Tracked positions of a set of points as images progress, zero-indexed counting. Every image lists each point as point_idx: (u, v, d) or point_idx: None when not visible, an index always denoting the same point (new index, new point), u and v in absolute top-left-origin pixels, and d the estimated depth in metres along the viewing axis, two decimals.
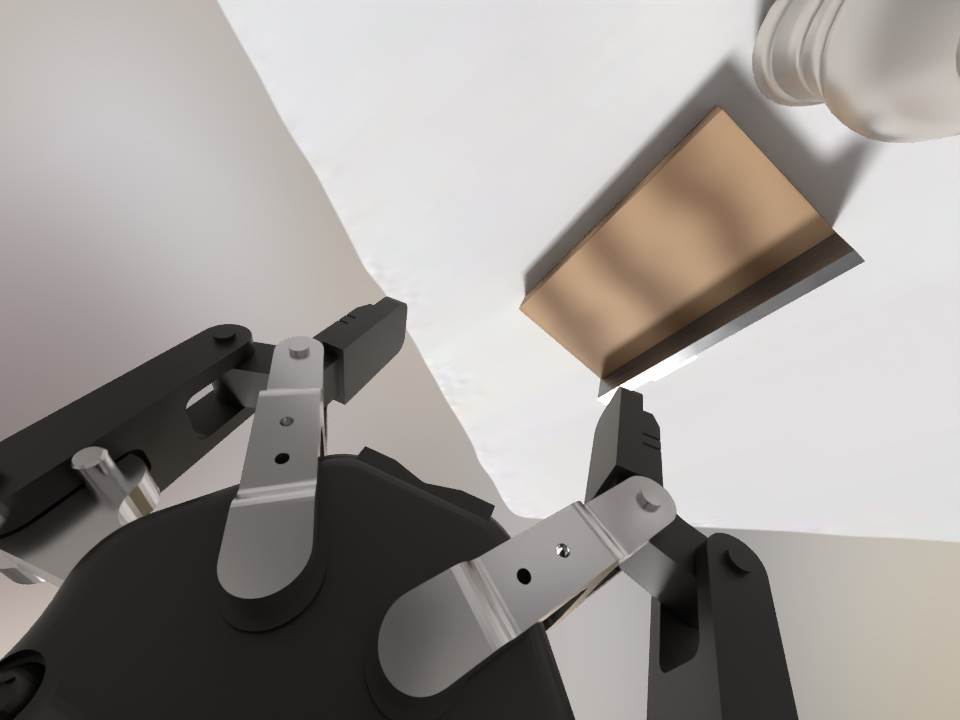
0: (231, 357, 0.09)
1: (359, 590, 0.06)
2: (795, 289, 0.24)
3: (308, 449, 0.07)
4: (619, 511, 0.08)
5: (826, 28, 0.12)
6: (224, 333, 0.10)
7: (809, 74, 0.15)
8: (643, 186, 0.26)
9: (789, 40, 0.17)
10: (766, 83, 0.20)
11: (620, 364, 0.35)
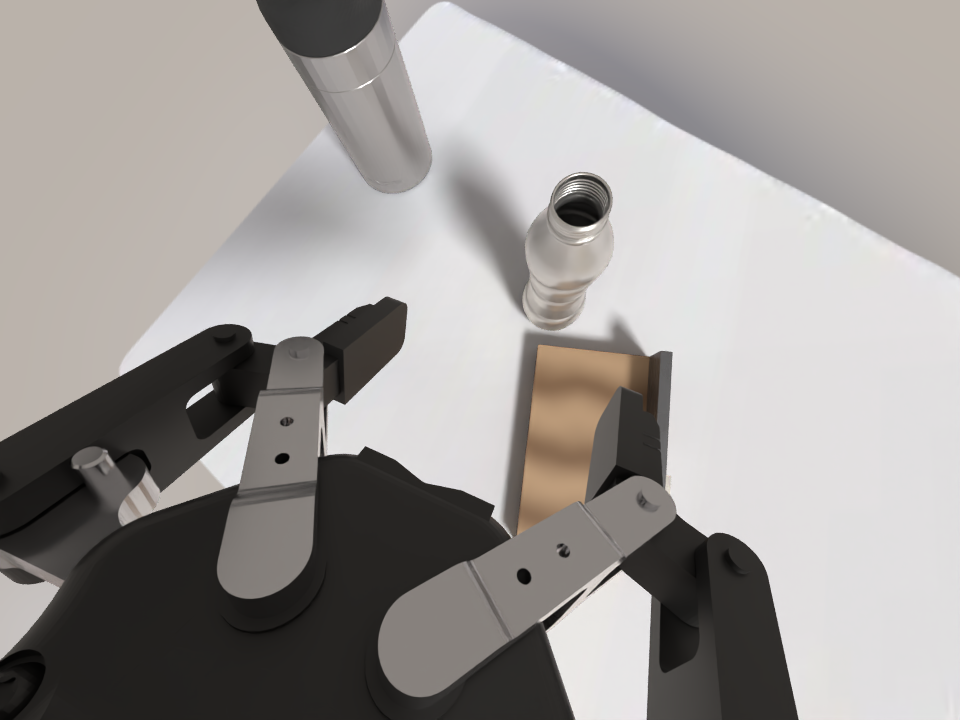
0: (231, 357, 0.09)
1: (360, 591, 0.06)
2: (662, 387, 0.33)
3: (308, 449, 0.07)
4: (619, 511, 0.08)
5: (532, 276, 0.29)
6: (224, 333, 0.10)
7: (547, 295, 0.30)
8: (532, 399, 0.37)
9: (534, 301, 0.34)
10: (545, 323, 0.37)
11: None
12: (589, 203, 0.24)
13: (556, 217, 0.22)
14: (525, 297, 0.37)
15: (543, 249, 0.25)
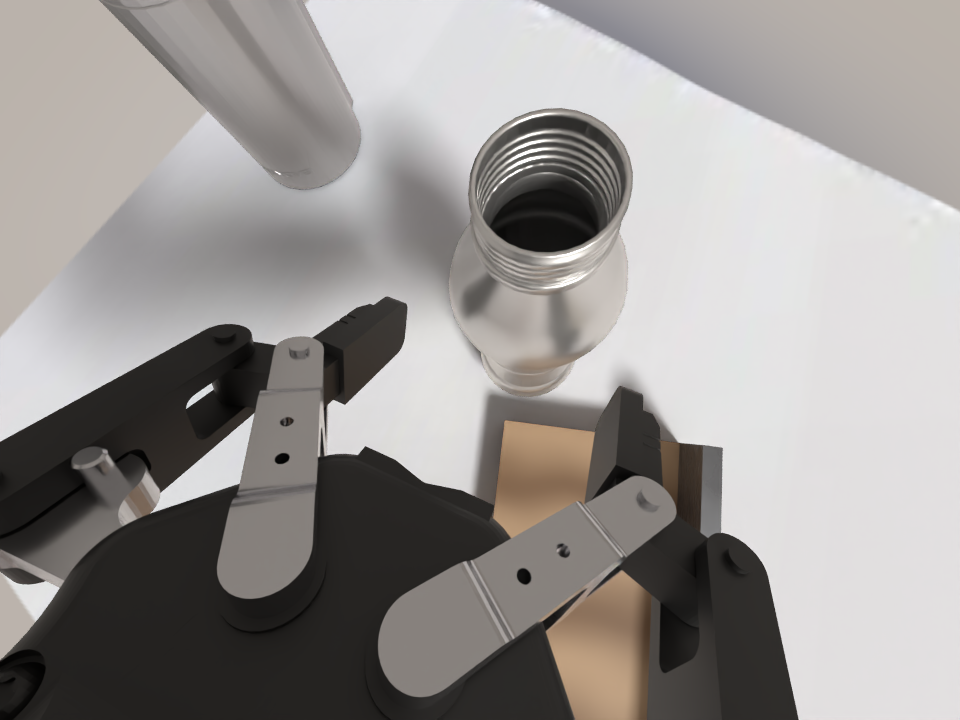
0: (231, 357, 0.09)
1: (359, 590, 0.06)
2: (708, 509, 0.20)
3: (308, 449, 0.07)
4: (619, 511, 0.08)
5: None
6: (224, 333, 0.10)
7: None
8: None
9: (491, 361, 0.21)
10: (513, 390, 0.23)
11: None
12: (574, 193, 0.10)
13: (480, 228, 0.08)
14: None
15: (475, 295, 0.11)
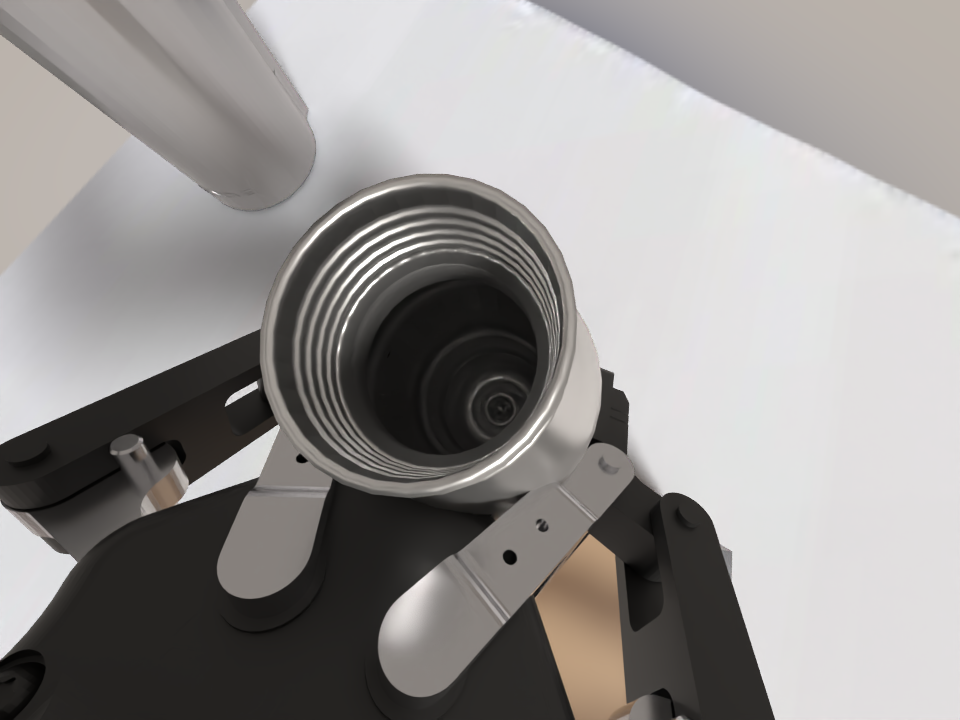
0: None
1: (359, 591, 0.06)
2: None
3: None
4: (580, 472, 0.09)
5: None
6: None
7: None
8: None
9: None
10: None
11: None
12: (504, 291, 0.06)
13: (278, 415, 0.04)
14: None
15: None
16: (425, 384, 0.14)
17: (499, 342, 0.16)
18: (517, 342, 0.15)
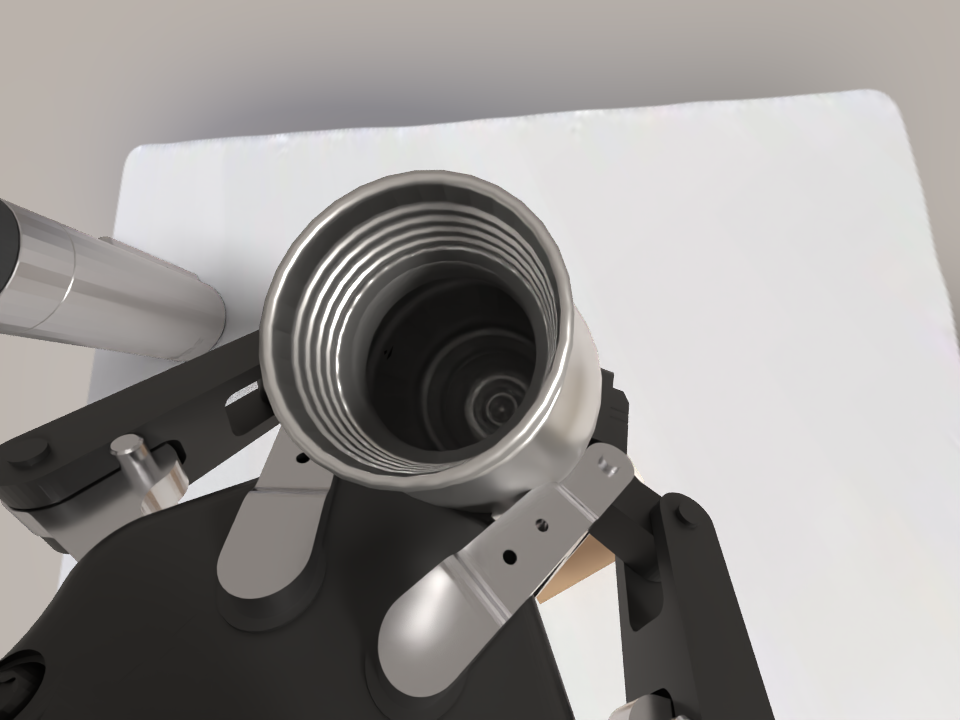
0: None
1: (359, 590, 0.06)
2: None
3: None
4: (580, 472, 0.09)
5: None
6: None
7: None
8: None
9: None
10: None
11: None
12: (502, 288, 0.06)
13: (276, 409, 0.04)
14: None
15: None
16: (426, 383, 0.14)
17: (500, 341, 0.16)
18: (518, 341, 0.15)
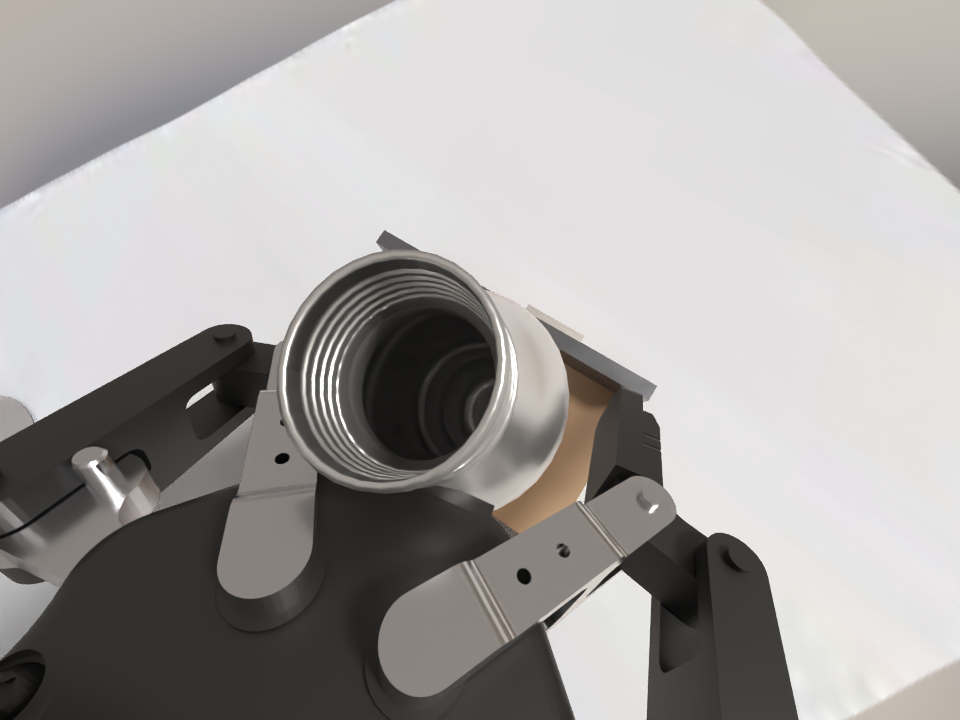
0: (231, 357, 0.09)
1: (359, 591, 0.06)
2: None
3: None
4: (619, 511, 0.08)
5: None
6: (224, 333, 0.10)
7: None
8: None
9: None
10: None
11: (595, 384, 0.25)
12: (473, 326, 0.08)
13: (290, 431, 0.06)
14: None
15: None
16: (423, 392, 0.16)
17: None
18: None
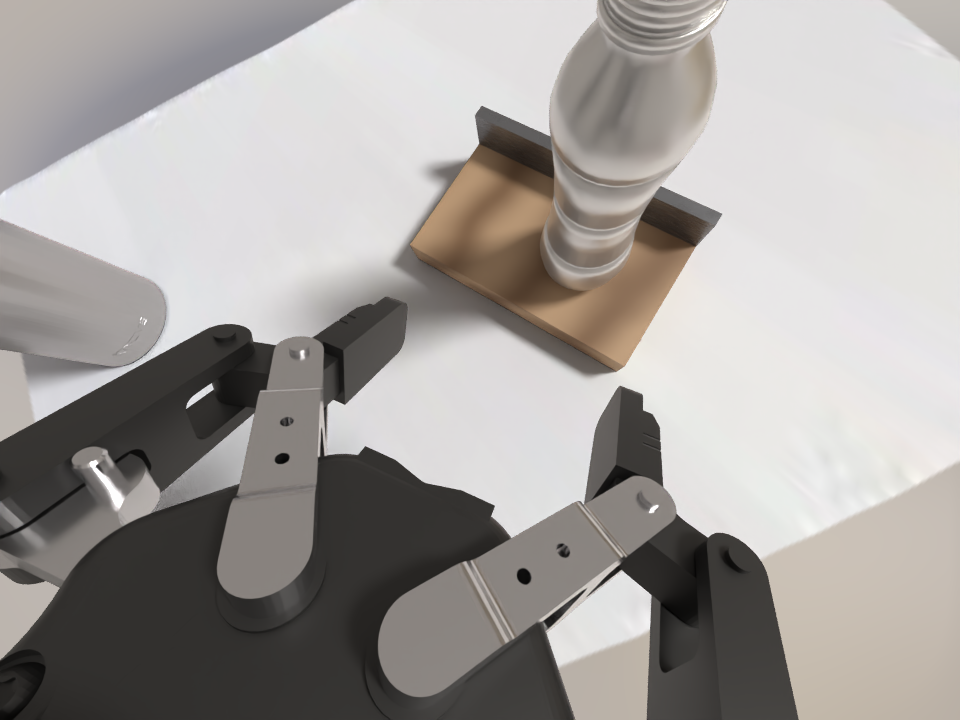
0: (231, 357, 0.09)
1: (359, 591, 0.06)
2: (512, 128, 0.29)
3: (308, 449, 0.07)
4: (619, 511, 0.08)
5: (562, 172, 0.17)
6: (224, 333, 0.10)
7: (583, 213, 0.19)
8: (465, 276, 0.30)
9: (560, 235, 0.22)
10: (575, 275, 0.25)
11: (662, 233, 0.29)
12: None
13: None
14: (545, 238, 0.25)
15: (587, 90, 0.13)
16: None
17: None
18: None
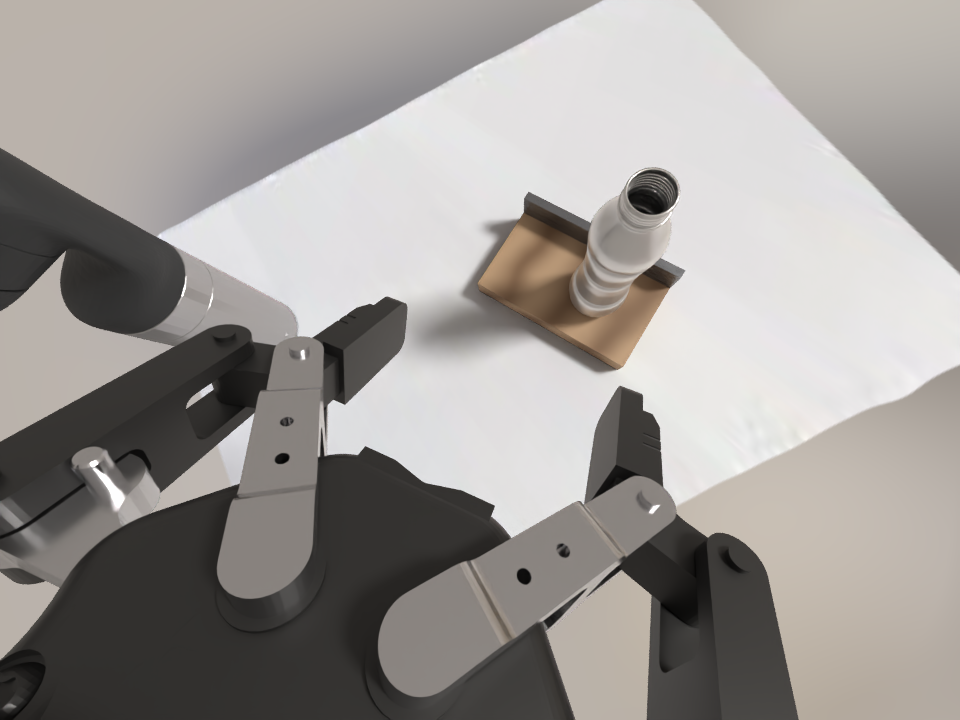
0: (231, 357, 0.09)
1: (359, 590, 0.06)
2: (549, 208, 0.44)
3: (308, 449, 0.07)
4: (619, 511, 0.08)
5: (593, 263, 0.32)
6: (224, 333, 0.10)
7: (603, 281, 0.33)
8: (516, 305, 0.45)
9: (586, 287, 0.37)
10: (593, 309, 0.40)
11: (648, 278, 0.44)
12: (653, 195, 0.27)
13: (629, 207, 0.25)
14: (574, 285, 0.40)
15: (610, 237, 0.28)
16: (586, 255, 0.35)
17: None
18: None
